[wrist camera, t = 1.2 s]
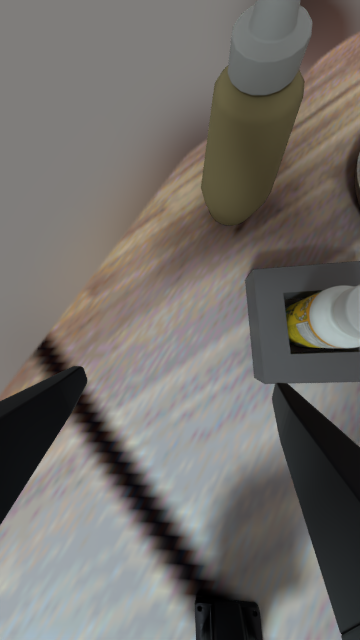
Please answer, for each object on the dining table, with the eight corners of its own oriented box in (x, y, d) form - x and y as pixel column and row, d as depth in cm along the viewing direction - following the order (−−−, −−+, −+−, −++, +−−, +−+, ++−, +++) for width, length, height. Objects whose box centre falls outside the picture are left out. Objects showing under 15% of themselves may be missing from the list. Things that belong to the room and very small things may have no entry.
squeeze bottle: (192, 225, 25) (177, -54, 8) (211, 174, 26) (239, -191, 8) (251, 241, 24) (394, -43, 6) (269, 187, 25) (443, -203, 7)
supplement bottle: (296, 356, 22) (370, 365, 12) (268, 318, 23) (317, 300, 13) (335, 331, 22) (439, 321, 12) (305, 294, 23) (382, 258, 13)
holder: (364, 374, 21) (397, 380, 17) (254, 377, 22) (264, 383, 19) (346, 272, 22) (373, 259, 19) (245, 280, 24) (253, 269, 20)
